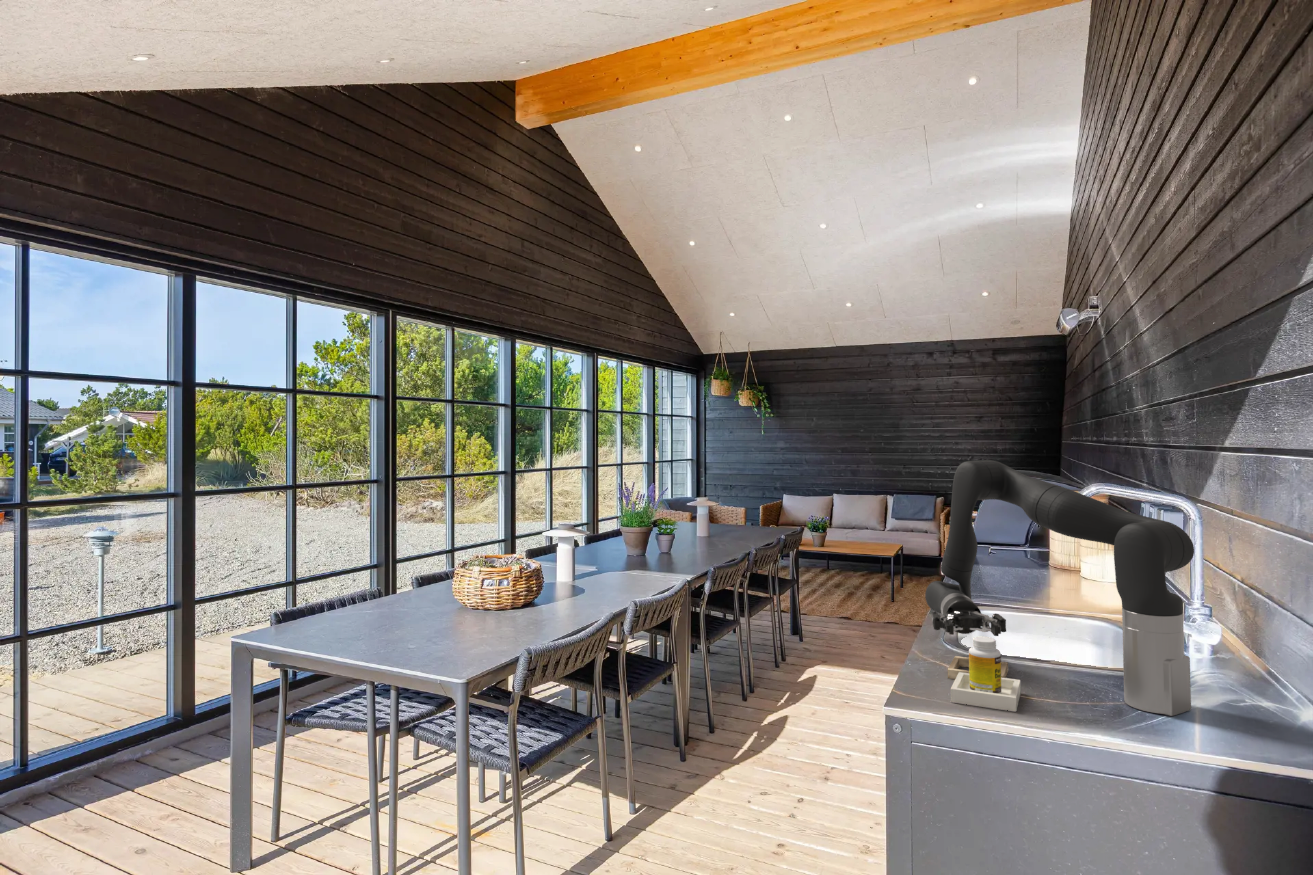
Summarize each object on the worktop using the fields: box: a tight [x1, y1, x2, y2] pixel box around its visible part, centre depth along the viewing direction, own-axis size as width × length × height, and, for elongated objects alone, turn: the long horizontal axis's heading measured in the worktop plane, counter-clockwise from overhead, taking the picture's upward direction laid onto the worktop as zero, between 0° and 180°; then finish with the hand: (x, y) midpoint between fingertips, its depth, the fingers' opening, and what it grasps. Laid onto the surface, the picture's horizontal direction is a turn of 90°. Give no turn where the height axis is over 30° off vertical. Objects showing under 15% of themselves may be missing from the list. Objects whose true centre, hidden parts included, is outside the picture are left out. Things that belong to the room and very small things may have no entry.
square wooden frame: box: [947, 655, 1009, 680], centre depth 153 cm, size 10×10×2 cm
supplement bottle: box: [968, 635, 1002, 694], centre depth 140 cm, size 6×6×10 cm
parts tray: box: [950, 672, 1022, 713], centre depth 140 cm, size 11×11×2 cm
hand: (974, 630), depth 151 cm, fingers open, 8 cm apart
